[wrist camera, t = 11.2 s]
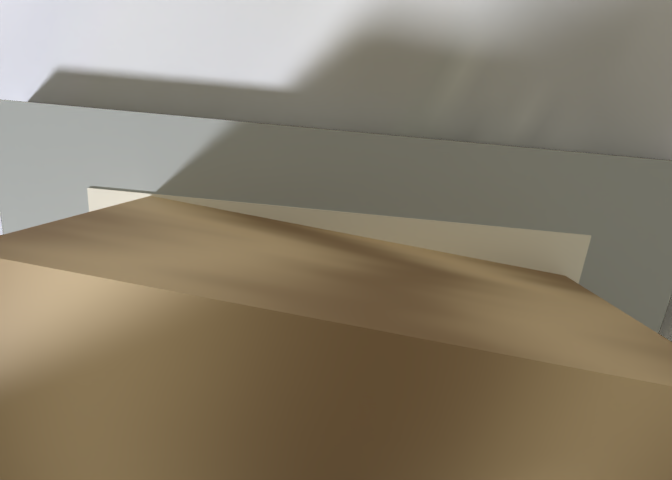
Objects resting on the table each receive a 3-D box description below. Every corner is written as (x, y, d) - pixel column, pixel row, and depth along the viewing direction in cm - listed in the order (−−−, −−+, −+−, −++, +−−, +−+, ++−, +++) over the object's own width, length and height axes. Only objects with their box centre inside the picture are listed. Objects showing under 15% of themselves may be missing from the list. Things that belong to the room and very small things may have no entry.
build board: (79, 575, 15) (55, 614, 14) (24, 102, 10) (-20, 97, 9) (529, 626, 15) (545, 670, 14) (674, 161, 10) (718, 164, 9)
